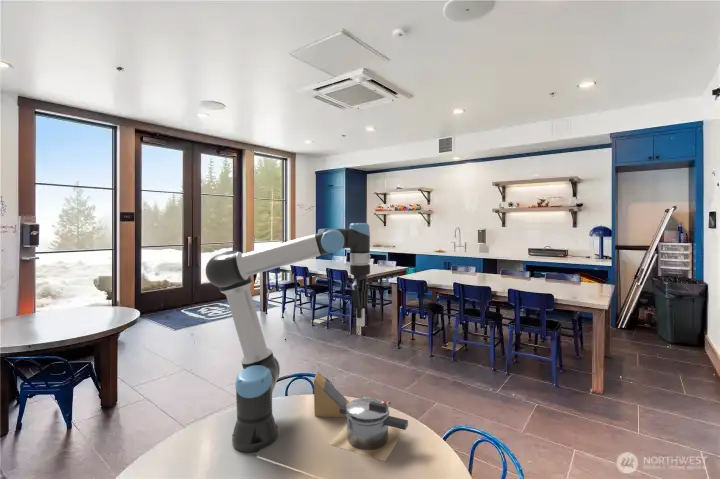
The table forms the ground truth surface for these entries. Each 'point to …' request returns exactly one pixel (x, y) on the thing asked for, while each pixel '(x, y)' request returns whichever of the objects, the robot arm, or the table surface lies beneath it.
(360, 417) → the lid
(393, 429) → the trivet
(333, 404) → the sandwich container
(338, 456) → the table surface
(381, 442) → the pot
